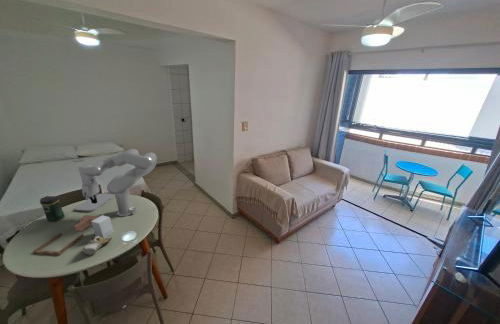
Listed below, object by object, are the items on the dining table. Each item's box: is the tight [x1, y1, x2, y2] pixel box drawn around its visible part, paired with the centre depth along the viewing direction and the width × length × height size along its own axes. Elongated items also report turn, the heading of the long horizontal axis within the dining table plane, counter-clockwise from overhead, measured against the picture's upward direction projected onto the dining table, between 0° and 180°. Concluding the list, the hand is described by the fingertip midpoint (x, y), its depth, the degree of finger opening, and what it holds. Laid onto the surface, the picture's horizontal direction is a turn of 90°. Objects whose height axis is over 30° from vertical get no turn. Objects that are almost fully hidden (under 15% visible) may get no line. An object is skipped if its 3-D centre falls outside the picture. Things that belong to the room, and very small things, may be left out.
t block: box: [73, 214, 99, 232], centre depth 137 cm, size 10×12×4 cm
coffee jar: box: [39, 195, 65, 222], centre depth 141 cm, size 10×8×19 cm
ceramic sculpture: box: [82, 235, 113, 256], centre depth 117 cm, size 11×9×15 cm
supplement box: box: [91, 214, 114, 240], centre depth 127 cm, size 7×7×13 cm
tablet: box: [74, 193, 115, 213], centre depth 165 cm, size 16×26×2 cm, turn 176°
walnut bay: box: [32, 232, 85, 256], centre depth 120 cm, size 16×16×2 cm
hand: (94, 202), depth 145 cm, fingers closed
